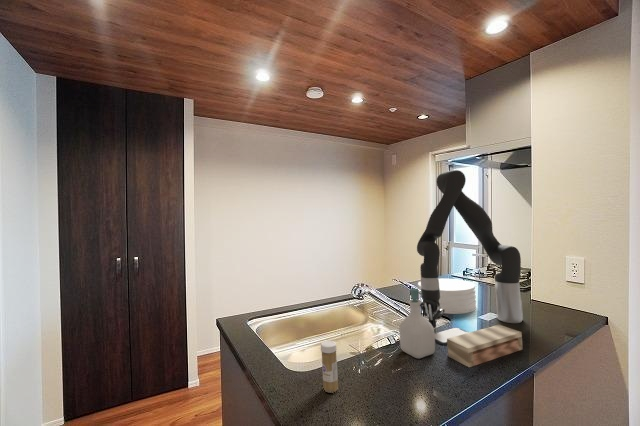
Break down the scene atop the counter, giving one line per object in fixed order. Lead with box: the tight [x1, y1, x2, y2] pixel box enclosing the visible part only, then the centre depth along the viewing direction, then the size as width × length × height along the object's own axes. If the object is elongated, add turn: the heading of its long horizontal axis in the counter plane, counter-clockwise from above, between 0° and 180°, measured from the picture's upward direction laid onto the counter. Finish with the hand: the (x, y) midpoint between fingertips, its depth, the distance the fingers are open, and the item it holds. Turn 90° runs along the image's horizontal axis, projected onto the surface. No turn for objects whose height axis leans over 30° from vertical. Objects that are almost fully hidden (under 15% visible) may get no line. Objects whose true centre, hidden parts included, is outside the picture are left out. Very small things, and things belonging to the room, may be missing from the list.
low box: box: [446, 324, 524, 368], centre depth 101 cm, size 26×8×6 cm, turn 112°
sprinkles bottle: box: [320, 340, 339, 392], centre depth 84 cm, size 5×5×14 cm
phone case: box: [434, 327, 470, 346], centre depth 115 cm, size 9×2×16 cm
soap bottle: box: [398, 288, 436, 360], centre depth 104 cm, size 10×10×23 cm
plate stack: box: [417, 278, 477, 315], centre depth 155 cm, size 28×28×12 cm
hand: (432, 327), depth 124 cm, fingers closed
